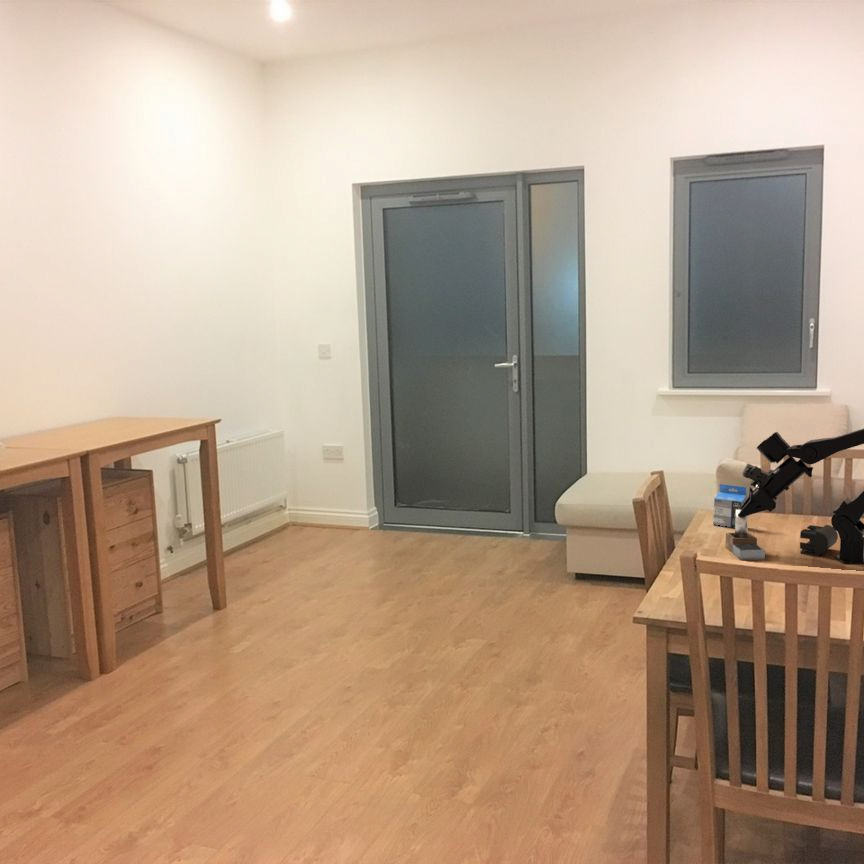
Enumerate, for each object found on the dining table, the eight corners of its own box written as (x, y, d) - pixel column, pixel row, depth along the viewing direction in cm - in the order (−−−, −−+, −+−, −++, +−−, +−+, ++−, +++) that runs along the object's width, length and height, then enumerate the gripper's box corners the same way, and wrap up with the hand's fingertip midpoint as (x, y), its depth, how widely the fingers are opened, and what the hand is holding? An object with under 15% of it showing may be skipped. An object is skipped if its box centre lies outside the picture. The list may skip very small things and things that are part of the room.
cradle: (764, 559, 239) (765, 550, 239) (740, 559, 240) (740, 550, 239) (756, 553, 246) (757, 544, 245) (732, 553, 246) (732, 544, 246)
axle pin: (748, 540, 247) (749, 511, 246) (736, 540, 247) (737, 511, 246) (745, 537, 250) (746, 508, 249) (733, 537, 250) (734, 508, 249)
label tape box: (712, 525, 278) (713, 485, 276) (718, 522, 281) (719, 483, 279) (740, 529, 272) (741, 488, 271) (746, 527, 275) (747, 486, 274)
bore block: (756, 553, 246) (757, 538, 245) (732, 553, 246) (732, 538, 246) (748, 546, 252) (749, 532, 252) (725, 547, 252) (725, 532, 252)
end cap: (826, 558, 240) (828, 533, 239) (799, 554, 245) (800, 529, 244) (837, 550, 248) (838, 525, 247) (810, 546, 252) (811, 522, 252)
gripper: (759, 449, 253) (716, 487, 258) (763, 460, 236) (717, 500, 240) (789, 478, 252) (745, 515, 257) (795, 491, 234) (748, 531, 239)
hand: (738, 514), depth 248 cm, fingers closed on axle pin, 3 cm apart
